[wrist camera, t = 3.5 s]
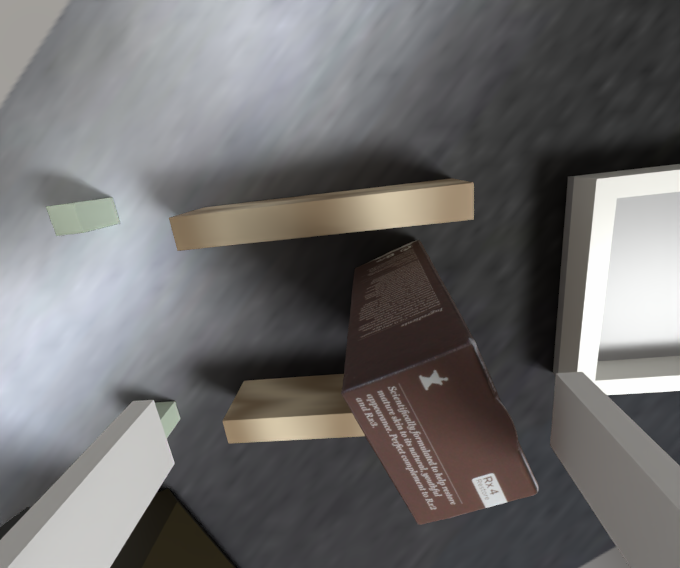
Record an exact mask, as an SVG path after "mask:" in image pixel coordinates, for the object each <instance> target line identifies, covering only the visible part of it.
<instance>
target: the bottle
mask: <svg viewBox="0 0 680 568" xmlns="http://www.w3.org/2000/svg"><path fill="white" fill-rule="evenodd" d="M110 568H236V566H235V565H234V564H233V563H232V562H231V561H230V560H229V558H228V557H227V556H226V555H225V554H224V553H223V551H222V550H221V549H220V548H219V547H218V546H217V544H216V543H215V542H214V541H213V540H212V539H211V537H210V536H209V535H208V534H207V533H206V532H205V530H204V529H203V528H202V527H201V526H200V525H199V524H198V522H197V521H196V520H195V519H194V518H193V517H192V515H191V514H190V513H189V512H188V511H187V510H186V508H185V507H184V506H183V505H182V504H181V503H180V501H179V500H178V499H177V498H176V497H175V496H174V494H173V493H172V492H171V491H170V490H169V489H165V490H163V491H161V492H158V493H156V494H155V496H154V497H153V499H152V501H151V502H150V504H149V506H148V507H147V509H146V510H145V512H144V514H143V515H142V517H141V518H140V520H139V522H138V523H137V525H136V526H135V528H134V530H133V531H132V533H131V535H130V536H129V538H128V539H127V541H126V543H125V544H124V546H123V547H122V549H121V551H120V552H119V554H118V556H117V557H116V559H115V560H114V562H113V564H112V565H111V567H110Z"/></svg>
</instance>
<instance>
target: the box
mask: <svg viewBox="0 0 680 568" xmlns="http://www.w3.org/2000/svg"><path fill="white" fill-rule="evenodd" d="M341 394H342V396H343V398H344V400H345V401H346V403H347V405H348V406H349V408H350V410H351V412H352V413H353V415H354V417H355V419H356V421H357V422H358V424H359V426H360V428H361V429H362V431H363V433H364V435H365V437H366V438H367V440H368V442H369V443H370V445H371V447H372V448H373V450H374V452H375V453H376V455H377V456H378V458H379V460H380V461H381V463H382V465H383V467H384V468H385V470H386V472H387V473H388V475H389V477H390V478H391V480H392V482H393V483H394V485H395V487H396V489H397V490H398V492H399V494H400V495H401V497H402V498H403V500H404V502H405V503H406V505H407V507H408V509H409V510H410V512H411V513H412V515H413V517H414V518H415V520H416V522H417V523H418V524H419V525H421V524H425V523H430V522H433V521H438V520H442V519H447V518H451V517H455V516H458V515H462V514H465V513H469V512H473V511H476V510H480V509H483V508H487V507H492V506H495V505H499V504H503V503H506V502H510V501H513V500H516V499H520V498H525V497H528V496H532V495H535V494H536V493H537V492H538V483H537V481H536V479H535V477H534V475H533V473H532V471H531V468H530V466H529V464H528V461H527V459H526V457H525V455H524V453H523V451H522V448H521V446H520V444H519V442H518V436H517V432H516V429H515V426H514V423H513V421H512V419H511V417H510V415H509V413H508V412H507V410H506V409H505V407H504V406H503V405H502V403H501V401H500V398H499V396H498V394H497V391H496V389H495V386H494V384H493V382H492V380H491V377H490V375H489V372H488V370H487V368H486V365H485V363H484V361H483V358H482V356H481V354H480V352H479V349H478V347H477V345H476V342H475V341H474V339H473V337H472V335H471V333H470V331H469V329H468V328H467V325H466V324H465V322H464V320H463V318H462V316H461V314H460V312H459V310H458V309H457V307H456V305H455V303H454V301H453V299H452V297H451V296H450V294H449V293H448V291H447V289H446V287H445V285H444V283H443V282H442V280H441V278H440V276H439V274H438V272H437V271H436V269H435V267H434V266H433V264H432V262H431V260H430V258H429V256H428V254H427V253H426V251H425V249H424V247H423V245H422V243H421V242H420V240H417V241H414V242H411V243H408V244H405V245H403V246H402V247H400V248H397V249H395V250H393V251H390V252H388V253H386V254H385V255H383V256H381V257H378V258H376V259H374V260H372V261H370V262H368V263H366V264H363V265H361V266H359V267H357V268H355V270H354V279H353V288H352V298H351V310H350V320H349V328H348V337H347V348H346V358H345V370H344V378H343V387H342V391H341Z"/></svg>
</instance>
